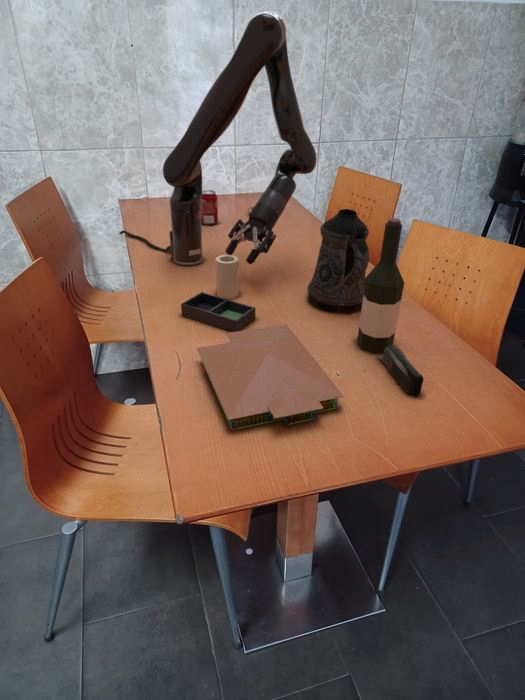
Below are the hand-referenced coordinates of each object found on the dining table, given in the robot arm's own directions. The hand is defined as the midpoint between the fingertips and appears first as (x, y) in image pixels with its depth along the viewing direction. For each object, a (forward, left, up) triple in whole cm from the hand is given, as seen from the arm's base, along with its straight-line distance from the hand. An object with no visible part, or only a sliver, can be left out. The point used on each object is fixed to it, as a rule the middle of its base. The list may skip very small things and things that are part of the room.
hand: (238, 258), depth 138 cm
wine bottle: (+44, -8, -10) cm, 46 cm away
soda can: (-44, +46, -10) cm, 65 cm away
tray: (+5, -17, -10) cm, 20 cm away
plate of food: (-33, +68, -10) cm, 76 cm away
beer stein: (+28, +9, -10) cm, 31 cm away
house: (+29, -35, -10) cm, 47 cm away
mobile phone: (+53, -18, -10) cm, 57 cm away
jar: (-1, -4, -10) cm, 10 cm away
